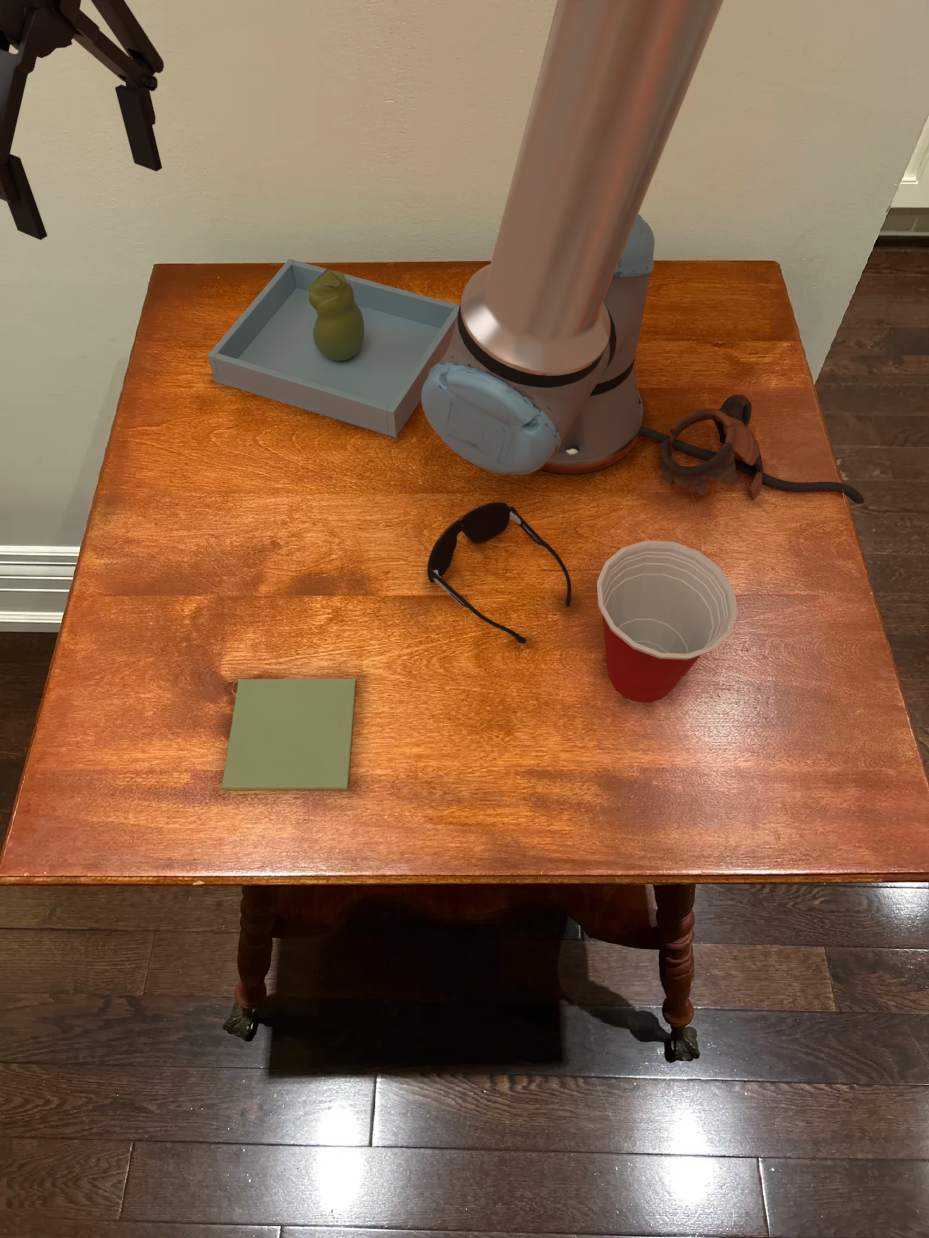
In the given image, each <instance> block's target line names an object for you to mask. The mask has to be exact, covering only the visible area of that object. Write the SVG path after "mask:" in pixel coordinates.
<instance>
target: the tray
mask: <svg viewBox="0 0 929 1238" xmlns="http://www.w3.org/2000/svg"><path fill="white" fill-rule="evenodd" d="M327 269H328V268H326V267H325V268H324V267H321V266H318V265H314V264H310V263H306V262H303V261H299V260H294V259H291V258H289V259H287V261H286V262H285V263H284V264H283V265H282V266H281V268H279V270H278V271H277V273H275V274H274V275H273V277H272V278H271V279H270V280H269V282H268V283H267V284H266V285H265V286H264V288H263V289H262V290H261V291H260V293H259V294H258V295H257V296H256V297H255V298H254V300H253V301H252V302H251V303H250V304H249V305H248V307H247V308H246V309H245V310H244V312H242V314H241V315H240V316H239V317H238V319H237V320H236V321H235V322H234V323H233V325H231V327H230V328H229V329H228V331H227V332H226V333H225V334H224V335H223V336H222V337H221V339H219V341H218V342H217V343H216V344H215V346H214V347H213V348H212V349H211V350H210V351H209V352H208V354H207V359H208V363H209V366H210V367H209V368H210V369H211V373H212V376H213V381H214V382H215V383H218V384H221V385H225V386H227V387H231V388H234V389H237V390H240V391H244V392H247V393H249V394H250V393H251V394H252V395H256V396H259V397H263V398H266V399H270V400H273V401H276V402H279V403H283V404H285V405H289V406H292V407H294V408H295V407H296V408H299V409H301V410H305V411H308V412H311V413H314V414H318V415H320V416H324V417H327V418H331V419H334V420H336V421H340V422H344V423H347V424H349V425H353V426H356V427H359V428H363V429H366V430H369V431H371V432H372V431H373V432H375V433H379V434H383V435H386V436H389V437H392V438H395V439H397V438H398V436H399V434H400V433H401V431H402V430H403V428H404V427H405V425H406V423H407V422H408V420H409V419H410V417H411V416H412V414H413V413H414V411H415V410H416V408H417V406H418V405H419V404H420V402H421V393H422V388H423V385H424V383H425V381H426V380H427V378H428V377H429V371H430V370H431V368H433V366H434V365H435V364H438V363H439V362H440V361H441V359H442V358H443V357H444V355H445V353H446V351H447V349H448V347H449V345H450V342H451V339H452V336H453V331H454V327H455V323H456V318H457V314H458V310H459V306H460V304H456V303H453V302H450V301H446V300H442V299H439V298H434V297H431V296H428V295H424V294H420V293H417V292H413V291H409V290H406V289H402V288H398V287H394V286H391V285H387V284H385V283H379V282H376V281H372V280H369V279H365V278H362V277H357V276H355V275H350V274H348V273H347V274H346V273H343V274H344V276H345V278H346V282H347V283H350V285H351V287H352V289H353V292H354V301H355V303H356V304H357V305H358V307H359V308H360V310H361V313H362V316H363V320H364V340H363V343H362V346H361V348H360V350H359V351H358V352H357V353H356V354H355V355H354V356H353V357H351V358H349V359H347V360H341V361H337V360H332V359H329V358H327V357H326V356H324V355H323V354H322V353H321V352H320V351H319V350H318V348H317V347H316V345H315V343H314V339H313V328H314V325H315V322H316V320H317V317H318V314H317V311H316V310H315V309H314V308H313V307H312V305H311V304H310V302H309V289H310V286H311V284H312V283H313V282H314V281H315V280H316V279H317V278H318V277H319V276H320V275H321V274H322V273H324V271H326V270H327Z"/></svg>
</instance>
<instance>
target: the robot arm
mask: <svg viewBox="0 0 929 1238" xmlns="http://www.w3.org/2000/svg"><path fill="white" fill-rule="evenodd" d="M90 1H91V3H92V4H93V6H94V7H95V9H96V10H97V12H98V13H99V15H100V16H101V18H102V19H103V20H104V23H105V24H106V25H107V26H108V28H109V29H110V31H111V33H112V34H113V35H114V37H115V38H116V40H117V41H118V42H119V44H120V45H121V47H122V48H123V49H122V48H120V47H119V46H118V45H117V44H116V43H115V42H113V40H111V39H110V38H109V37H108V36H107V35H106V34H105V33H104V32H103V31H102V30H101V29H100V26H99V25H98V24H97V23H96V22H95V21H93V19H92V18H90V17H89V16H88V15H87V14H86V13H85V12H84V11H82V10H81V5H82V0H0V200H2V201H4V202H6V203H7V206H8V207H9V209H8V210H9V211H10V214H11V215H12V219H13V222H14V225H15V228H16V229H17V231H18V232H21V233H22V234H25V235H28V236H30V237H32V238H35V239H37V240H39V241H42V240H44V239H45V238H47V237H48V232H47V230H46V227H45V224H44V222H43V219H42V216H41V213H40V211H39V207H38V204H37V202H36V199H35V196H34V192H33V189H32V187H31V185H30V182H29V178H28V176H27V172H26V170H25V167H24V164H23V161H22V159H21V157H20V156H17V155H14V154H12V153H11V150H12V146H13V141H14V137H15V133H16V128H17V124H18V120H19V115H20V110H21V106H22V103H23V99H24V94H25V89H26V85H27V80H28V76H29V74H31V73H33V71H35V67H36V63H37V59H38V58H40V59H43V58H46V57H48V56H50V55H52V54H53V52H54V51H55V50H57V49H66V48H67V47H70V46H72V45H73V42H72V40H74V41H75V42H76V43H77V44H79V45H80V46H81V47H82V48H83V49H84V50H86V51H87V52H88V53H89V54H90V55H92V56H93V57H94V58H95V59H96V60H97V61H98V62H100V63H101V64H102V65H103V66H104V67H106V68H107V69H108V70H109V71H110V72H111V73H112V74H113V75H115V77H117V78H118V79H119V80H121V81H122V82H123V83H125V84H119V85H117V86H115V87H114V90H115V94H116V97H117V102H118V105H119V109H120V114H121V117H122V122H123V125H124V129H125V133H126V136H127V140H128V144H129V149H130V152H131V156H132V160H133V163H134V164H135V165H138V166H140V167H143V168H146V169H149V170H151V171H154V172H156V173H157V172H158V171H160V170H162V169H163V165H162V161H161V156H160V153H159V147H158V143H157V139H156V135H155V131H154V127H153V126H154V125H155V124H156V120H157V119H156V113H155V108H154V104H153V99H152V95H151V92H155V91H156V90H157V88H158V85H159V82H158V78H157V77H156V76H155V74H156V73H157V74H161V73H162V72H163V71H164V67H165V63H164V60H163V58H162V56H161V55H160V54H159V51H157V48H156V47H155V46H154V44H153V42H151V40H150V38H149V36H148V35H147V33H146V32H145V30H144V29H143V27H142V25H141V24H140V22H139V21H138V19H137V18H136V16H135V14H134V13H133V11H132V10H131V8H130V6H129V5H128V3H127V2H126V0H90ZM724 1H725V0H557V1H556V5H555V9H554V13H553V17H552V21H551V25H550V29H549V32H548V37H547V40H546V45H545V48H544V52H543V56H542V61H541V64H540V69H539V72H538V76H537V80H536V84H535V88H534V92H533V95H532V99H531V104H530V108H529V112H528V115H527V119H526V123H525V128H524V131H523V134H522V139H521V142H520V146H519V151H518V155H517V159H516V162H515V166H514V171H513V175H512V178H511V181H510V187H509V190H508V194H507V198H506V202H505V205H504V210H503V212H502V213H503V214H502V218H501V221H500V224H499V225H500V226H499V229H498V234H497V237H496V242H495V245H494V248H493V253H492V257H491V261H490V263H489V264H487V265H485V266H483V267H482V268H480V269H478V270H476V272H475V273H473V274H472V275H471V277H470V278H469V279H468V281H467V283H466V284H465V286H464V288H463V291H462V294H461V298H460V302H459V305H460V306H459V310H458V314H457V318H456V323H455V327H454V331H453V336H452V339H451V342H450V345H449V347H448V349H447V351H446V353H445V355H444V357H443V358H442V359H441V361H440V362H439V363H438V364H435V365H434V366H433V368H431V370H430V371H429V377H428V378H427V380H426V381H425V383H424V385H423V388H422V393H421V400H420V402H421V407H422V411H423V414H424V417H425V419H426V420H427V422H428V424H429V426H430V428H431V429H432V430H433V431H434V432H435V434H437V435H438V436H439V438H440V440H441V441H442V442H443V443H444V444H445V445H446V446H447V447H448V448H449V449H450V450H451V451H453V452H454V453H455V454H456V455H458V456H459V457H461V458H462V459H464V460H466V461H467V462H469V463H471V464H472V465H474V466H475V467H479V468H481V469H483V470H485V471H488V472H491V473H494V474H498V475H502V476H503V475H504V476H512V475H515V476H526V475H530V474H533V473H535V472H537V471H539V470H541V471H545V472H549V473H554V474H561V475H562V474H563V475H580V474H587V473H593V472H596V471H600V470H603V469H606V468H608V467H610V466H612V465H614V464H616V463H618V462H619V461H620V460H622V459H623V458H625V457H626V456H627V455H628V454H629V453H630V452H631V451H632V449H633V448H634V446H635V445H636V443H637V441H638V439H639V437H640V436H641V437H644V438H647V439H650V440H652V441H655V442H657V443H659V444H661V443H662V442H664V441H665V440H666V439H670V437H671V436H672V435H668V434H666V433H663V432H660V431H657V430H655V429H652V428H649V427H647V426H644V425H642V423H643V418H644V404H643V400H642V396H641V393H640V391H639V387H638V385H637V378H636V371H635V367H634V366H635V361H636V355H637V350H638V345H639V339H640V334H641V328H642V323H643V317H644V312H645V306H646V301H647V296H648V290H649V286H650V280H651V274H652V272H653V271H654V268H655V261H654V255H655V244H656V243H655V242H656V241H655V235H654V231H653V230H652V227H651V226H650V225H649V223H648V222H647V221H646V220H644V219H643V217H642V215H641V214H639V212H640V210H641V208H642V205H643V203H644V200H645V197H646V195H647V194H648V193H647V192H648V190H649V187H650V185H651V183H652V180H653V178H654V175H655V173H656V170H657V168H658V165H659V162H660V161H661V158H662V155H663V153H664V150H665V148H666V146H667V143H668V140H669V138H670V136H671V133H672V130H673V128H674V126H675V123H676V121H677V118H678V115H679V113H680V110H681V108H682V105H683V103H684V101H685V98H686V95H687V93H688V91H689V88H690V85H691V83H692V81H693V78H694V76H695V73H696V70H697V68H698V65H699V63H700V60H701V58H702V55H703V54H704V52H705V51H704V50H705V48H706V46H707V43H708V41H709V38H710V36H711V33H712V30H713V28H714V25H715V23H716V21H717V18H718V15H719V13H720V11H721V8H722V6H723V3H724ZM11 46H12V48H14V49H15V50H16V51H17V52H16V53H12V52H10V48H11ZM672 448H673V449H675V450H677V451H680V452H683V453H685V454H688V455H691V456H694V457H697V458H700V459H703V460H706V461H708V460H710V459H711V458H712V457H714V456H715V455H716V454H717V453H718V451H717V452H716V451H713V450H710V449H706V448H703V447H699V446H697V445H694V444H691V443H688V442H686V441H683V440H680V439H678V438H676V439H675V440H674V441H673V443H672ZM734 461H735V465H736V470H737V471H740V472H741V473H743V474H746V475H747V476H748V477H750V478H752V479H754V477H755V475H756V473H757V471H756V468H755V467H753V466H750V465H748V464H746V463H745V462H744V461H743V460H740V459H738V458H735V457H734ZM762 480H763V482H762V484H764V485H766V486H769V487H771V488H774V489H777V490H781V491H785V492H791V493H818V492H834V493H839V494H842V495H844V496H847V498H849V499H850V500H851V501H852V502H853V503H856V504H859V505H861V504H864V503H865V502H866V501H865V498H864V497H863V495H862V494H861V492H860V491H858V490H857V489H856V488H855V487H853V486H851V485H849V484H847V483H844V482H839V481H810V482H809V481H807V482H806V481H804V482H801V481H800V482H799V481H798V482H797V481H789V480H783V479H780V478H778V477H775V476H772V475H770V474H768V473H767V472H764V471H763V475H762ZM842 490H843V491H842ZM843 492H844V494H843Z"/></svg>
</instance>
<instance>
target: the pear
mask: <svg viewBox="0 0 929 1238" xmlns="http://www.w3.org/2000/svg"><path fill="white" fill-rule="evenodd" d="M326 269H327V270H326V271H324V273H322V274H321V275H320V276H319V277H318V278H317V279H316V280H315V281H314V282H313V283H312V284H311V286H310V289H309V302H310V304H311V305H312V307H313V308H314V309H315V310H316V311H317V314H318V317H317V320H316V322H315V325H314V328H313V339H314V343H315V345H316V347H317V348H318V350H319V351H320V352H321V353H322V354H323V355H324V356H326V357H327V358H329V359H332V360H337V361H341V360H347V359H349V358H351V357H353V356H354V355H355V354H356V353H357V352H358V351H359V350H360V348H361V346H362V343H363V340H364V320H363V316H362V313H361V310H360V308H359V307H358V305H357V304H356V303H355V301H354V292H353V289H352V287H351V285H350V283H347V282H346V278H345V276H344V274H345V273H343V272H342V271H340V270H332V269H329V268H326Z"/></svg>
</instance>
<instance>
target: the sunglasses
mask: <svg viewBox="0 0 929 1238" xmlns="http://www.w3.org/2000/svg"><path fill="white" fill-rule="evenodd" d="M510 521H514V522H515V523H516V524H517V525H518V526H519V527H520V528H521V529H522V531H524V533H525V534H526V535H527V536H528V537H529V538H530V539H531V540H532V541H533V542H534V543H535V544H536V545H538V546H541V547H543V548H545V549H547V551H548V552H549V553H550V554H551V555H552V556H553V557H554V559H555V560H556V561H557V563H558V564H559V566H560V568H561V570H562V572H563V574H564V576H565V580H566V588H567V591H566V598H565V606H566V607H567V608H569V607H570V606H571V601H572V600H571V599H572V580H571V577H570V574H569V572H568V569H567V567H566V565H565V563H564V562H563V560H562V558H561V557H560V556H559V554H558V553H557V552H556V550H555V549H554V548H553V547H551V544H549V543H548V542H546V541H545V540H544V539H543V538H542V537H541V536H540V535H539V534H538V532H536V530H534V529H533V528H532V526H531V525H529V523H528V522H526V520H525V519H524V518H523V517H522V516H521V515H520V514H519V513H518V511H517V509H516V508H515V507H514V506H513V505H512V506H509V504H508V503H506V502H503V501H495V502H489V503H484V504H481V505H479V506H476V507H474V508H472V509H470V510H469V511H467V512H466V513H464V514H463V515H460V516H459V517H458V518H457V519H456V520H455V521H453V522H452V523H451V524H450V525H449V526H447V527H446V528H445V529H444V530H443V532H442V533H441V534H440V535H439V537H438V538H437V540H436V541H435V543H434V545H433V547H432V549H431V551H430V554H429V557H428V561H427V568H426V573H427V577H428V581H429V582H430V583H431V584H434V583H435V584H437V585H438V586H439V587H440V588H441V589H443V591H444V592H446V593H447V594H448V595H449V596H450V597H451V598H453V600H455V601H456V602H457V603H458V604H459V605H460V606H462V607H465V608H467V609H468V610H470V611H471V613H473V614H474V615H475V616H477V617H478V618H480V619H481V620H482V621H484V622H486V623H487V624H489V625H491V626H493V627H494V628H497V629H499V630H501V631H504V632H505V633H507V634H509V635H511V636H512V637H513V638H515V639H516V640H517V642H518V643H520V644H526V643H527V639H526V638H525V637H523V636H521V635H520V634H519V633H517V632H516V631H514V630H513V629H510V628H508V627H506V626H504V625H502V624H500V623H498V622H495V621H493V620H492V619H490V618H488V617H487V616H485V615H484V614H482V613H481V612H480V611H479V610H477V609H476V608H475V607H474V606H473V605H472V604H471V603H470V602H469V601H468V600H467V599H465V597H463V596H462V595H461V594H460V593H459V592H458V591H456V590H455V589H454V588H453V587H452V586H451V585H449V583H448V582H446V581H445V580H444V579H443V578H442V577H443V575H444V574H445V573H446V572H447V571H448V569H449V568H450V566H451V564H452V561H453V558H454V553H455V551H456V547H457V545H458V539H457V538H458V535H459V534H460V533H463V534H464V535H465V537H467V539H469V541H471V542H472V543H474V544H483V543H485V542H487V541H490V540H491V539H493V538H495V537H497V536H500V535H501V534H502V533H504V532H505V531H506V529H507V528H508V526H509V522H510Z"/></svg>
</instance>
